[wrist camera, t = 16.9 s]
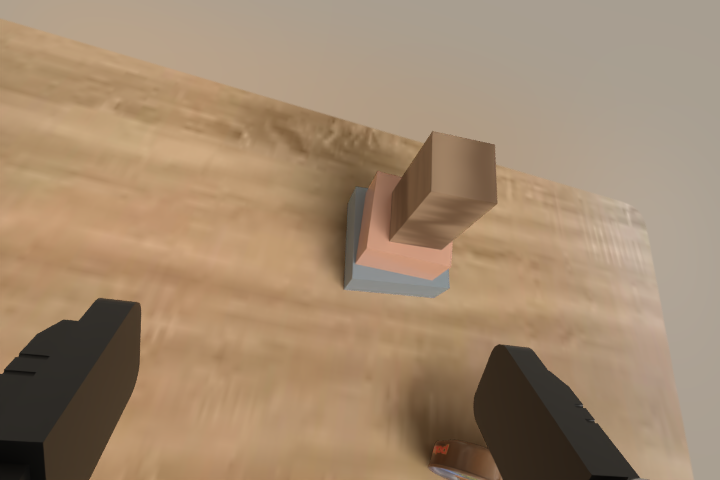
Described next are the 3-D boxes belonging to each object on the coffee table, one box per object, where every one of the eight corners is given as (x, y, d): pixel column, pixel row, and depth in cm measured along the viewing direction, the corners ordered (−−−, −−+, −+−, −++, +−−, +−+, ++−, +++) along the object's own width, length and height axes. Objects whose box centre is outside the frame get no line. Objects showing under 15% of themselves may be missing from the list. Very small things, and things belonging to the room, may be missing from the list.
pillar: (389, 241, 40) (431, 191, 31) (392, 192, 42) (432, 131, 32) (441, 250, 41) (497, 203, 32) (441, 201, 42) (494, 144, 33)
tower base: (343, 290, 46) (352, 278, 42) (347, 205, 50) (355, 186, 46) (432, 298, 48) (449, 288, 44) (429, 216, 52) (445, 199, 48)
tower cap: (355, 263, 43) (366, 248, 39) (365, 192, 46) (377, 171, 42) (432, 280, 44) (451, 266, 40) (437, 210, 47) (455, 190, 43)
